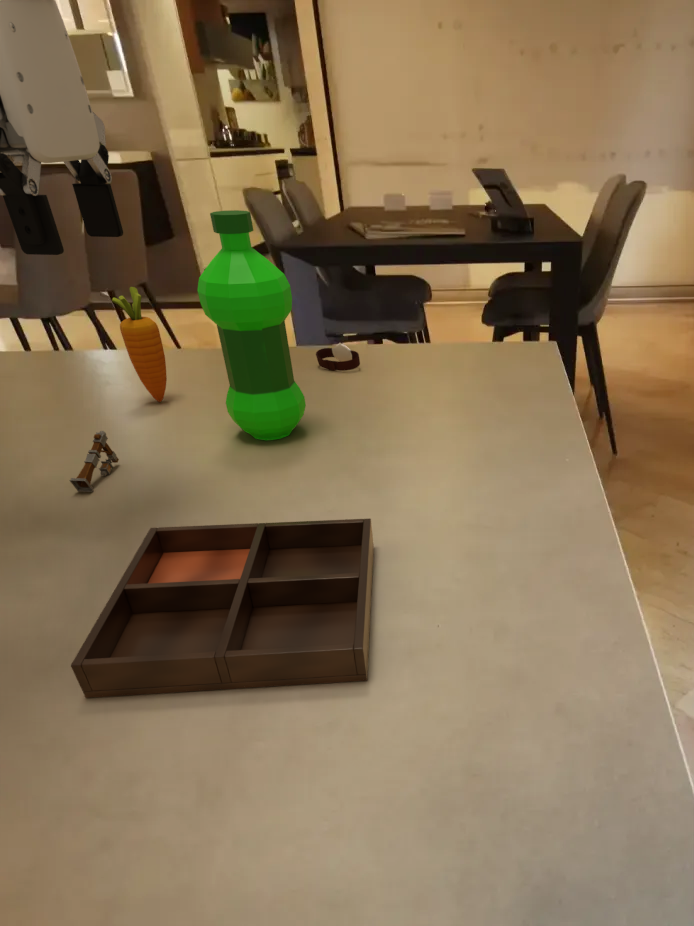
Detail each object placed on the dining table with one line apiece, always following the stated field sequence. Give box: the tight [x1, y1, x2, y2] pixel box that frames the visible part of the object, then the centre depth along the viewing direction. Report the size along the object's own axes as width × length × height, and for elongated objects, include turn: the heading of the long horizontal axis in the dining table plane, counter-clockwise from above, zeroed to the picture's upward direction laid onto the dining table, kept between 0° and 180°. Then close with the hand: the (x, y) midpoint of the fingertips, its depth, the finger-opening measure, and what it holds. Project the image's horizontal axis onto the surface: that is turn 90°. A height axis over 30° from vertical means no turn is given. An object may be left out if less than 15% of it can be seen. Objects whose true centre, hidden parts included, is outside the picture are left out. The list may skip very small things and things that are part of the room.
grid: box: [70, 518, 375, 699], centre depth 59 cm, size 20×20×3 cm
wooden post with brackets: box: [69, 430, 120, 493], centre depth 80 cm, size 2×8×4 cm, turn 176°
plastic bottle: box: [196, 209, 307, 441], centre depth 85 cm, size 10×10×25 cm
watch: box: [315, 342, 361, 372], centre depth 115 cm, size 8×5×4 cm, turn 69°
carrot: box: [111, 286, 168, 403], centre depth 98 cm, size 5×5×15 cm
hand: (77, 244), depth 60 cm, fingers open, 9 cm apart
